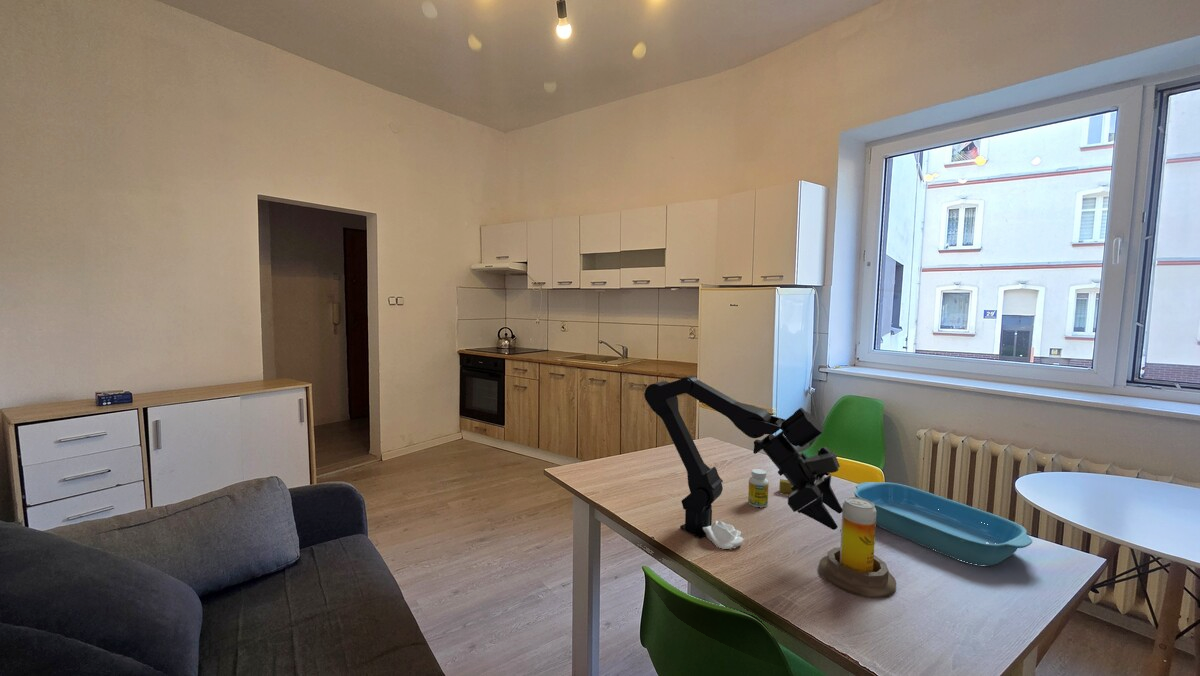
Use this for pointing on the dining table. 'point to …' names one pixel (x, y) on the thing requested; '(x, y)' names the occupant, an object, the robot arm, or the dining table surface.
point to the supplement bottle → (758, 489)
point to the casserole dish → (943, 523)
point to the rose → (723, 535)
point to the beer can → (858, 534)
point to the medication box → (785, 487)
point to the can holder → (858, 577)
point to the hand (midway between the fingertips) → (838, 520)
